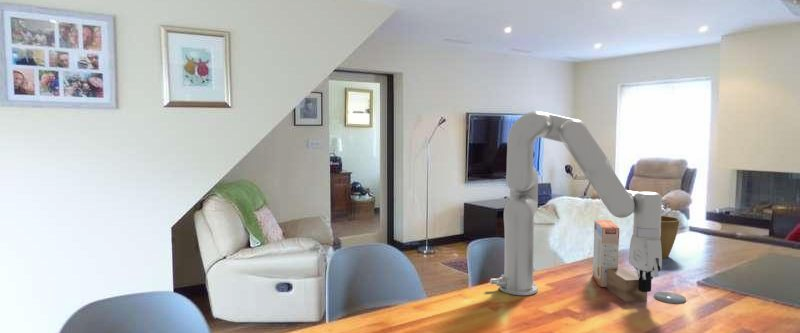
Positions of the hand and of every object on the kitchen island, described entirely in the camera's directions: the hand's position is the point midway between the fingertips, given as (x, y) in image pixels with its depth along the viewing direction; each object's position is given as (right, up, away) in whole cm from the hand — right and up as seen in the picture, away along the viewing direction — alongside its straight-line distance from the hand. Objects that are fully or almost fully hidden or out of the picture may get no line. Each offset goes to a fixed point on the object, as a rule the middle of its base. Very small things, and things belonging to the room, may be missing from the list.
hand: (644, 290), depth 157 cm
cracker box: (-3, -2, +22) cm, 23 cm away
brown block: (-2, -4, +9) cm, 10 cm away
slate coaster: (+10, -4, +5) cm, 12 cm away
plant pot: (+32, +1, +56) cm, 64 cm away
